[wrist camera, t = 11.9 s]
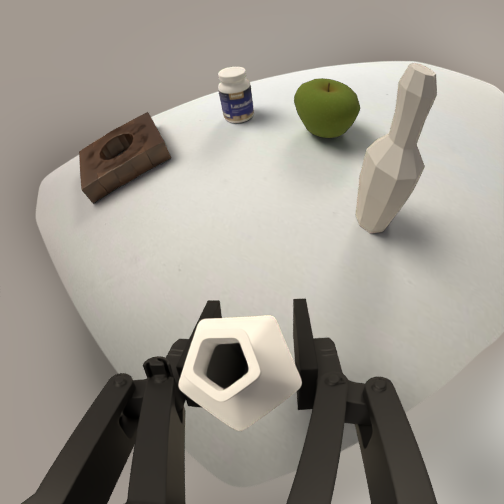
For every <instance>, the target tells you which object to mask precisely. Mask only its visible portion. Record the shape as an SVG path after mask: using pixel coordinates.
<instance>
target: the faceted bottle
mask: <svg viewBox="0 0 504 504" xmlns="http://www.w3.org/2000/svg"><path fill="white" fill-rule="evenodd" d="M436 96H437V85H436V74H435V73H434V72H433V71H432V70H431V69H429V68H427V67H425V66H423V65H421V64H416V63H412V64H410V65H409V66H408V68H407V69H406V71H405V73H404V74H403V76H402V77H401V79H400V81H399V83H398V92H397V101H396V109H395V113H394V117H393V121H392V125H391V128H390V132H389V134H387V135H385V136H383V137H381V138H379V139H377V140H376V141H375V142H374V143H373V144H372V145H371V146H370V147H369V148H368V149H366V153H365V157H364V161H363V165H362V169H361V173H360V177H359V187H358V197H357V206H356V217H357V220H358V222H359V225H360V226H361V227H362V228H364V229H365V230H367V231H368V232H369V233H371V234H372V233H378V232H383V231H384V230H385V228H386V227H387V226H388V225H389V223H390V222H391V221H392V219H393V218H394V217H395V216H396V214H397V213H398V212H399V210H400V209H401V208H402V206H403V205H404V204H405V202H406V201H407V199H408V198H409V196H410V195H411V193H412V192H413V190H414V188H415V186H416V184H417V182H418V180H419V178H420V176H421V174H422V172H423V170H424V167H425V166H424V163H423V161H422V158H421V155H420V152H419V150H418V147H417V142H418V139H419V136H420V134H421V131H422V128H423V125H424V122H425V120H426V118H427V115H428V113H429V111H430V109H431V107H432V105H433V102H434V100H435V98H436Z"/></svg>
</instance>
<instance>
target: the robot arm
mask: <svg viewBox="0 0 504 504" xmlns="http://www.w3.org/2000/svg"><path fill="white" fill-rule="evenodd" d="M213 318H222V316H221V308H220V301H207V304H206V306H205V308H204V310H203V312H202V314H201V316H200V318H199V320H198V322H197V324H196V326H195V328H194V330H193V332H192V334H191V337H190V339H179V340H177V341H176V342H175V343H174V344H173V345H172V347H171V349H170V351H169V353H168V355H167V356H166V358H165V357H159V356H157V357H152V358H150V359H148V360H147V361H145V362H144V364H143V367H144V370H145V373H146V376H147V379H144V380H133V379H132V377H131V376H130V375H128V374H125V373H120V374H117V375H114V376H113V377H111V378H110V379H109V381H108V382H107V384H106V385H105V386H104V388H103V389H102V391H101V392H100V394H99V395H98V396H97V398H96V399H95V401H94V402H93V404H92V405H91V407H90V408H89V410H88V411H87V412H86V414H85V416H84V417H83V418H82V420H81V422H80V423H79V424H78V426H77V427H76V429H75V430H74V432H73V434H72V435H71V436H70V438H69V440H68V441H67V443H66V444H65V446H64V448H63V449H62V450H61V452H60V454H59V455H58V457H57V458H56V460H55V462H54V463H53V465H52V466H51V468H50V469H49V471H48V473H47V474H46V476H45V478H44V479H43V481H42V483H41V484H40V486H39V488H38V489H37V491H36V493H35V494H33V495H32V496H31V497H29V498H28V499H27V500H25V501H24V502H23V503H21V504H107V503H108V501H109V499H110V496H111V494H112V492H113V490H114V487H115V485H116V483H117V481H118V479H119V477H120V474H121V472H122V470H123V468H124V465H125V464H126V462H127V459H128V457H129V455H130V453H131V451H132V449H133V447H134V452H133V459H132V466H131V473H130V482H129V490H128V499H127V502H126V503H125V504H185V463H184V461H185V456H184V455H185V454H184V453H185V408H184V403H185V400H186V401H187V404H188V406H192V407H201V406H200V405H199V404H197V403H196V402H195V401H193V400H192V399H191V398H189V397H188V396H187V395H186V394H184V393H183V392H182V391H181V390H180V389H179V386H178V385H179V380H180V377H181V374H182V370H183V367H184V364H185V361H186V358H187V355H188V352H189V349H190V346H191V343H192V340H193V337H194V334H195V331H196V328H197V325H198V323H199V322H200V321H201V320H203V319H213ZM293 339H294V353H295V366H296V368H297V370H298V373H299V375H300V378H301V381H302V385H301V387H300V388H299V390H297V402H298V410H306V409H313V410H312V414H311V418H310V423H309V427H308V431H307V435H306V439H305V443H304V447H303V450H302V454H301V458H300V461H299V465H298V468H297V472H296V475H295V478H294V482H293V485H292V488H291V491H290V494H289V497H288V500H287V504H331V500H332V495H333V490H334V485H335V480H336V474H337V469H338V463H339V457H340V451H341V444H342V437H343V429H344V423H351V424H355V427H356V431H357V436H358V440H359V444H360V449H361V454H362V459H363V463H364V468H365V473H366V478H367V483H368V489H369V494H370V500H371V504H437V501H436V498H435V495H434V491H433V488H432V485H431V482H430V478H429V475H428V473H427V470H426V467H425V464H424V461H423V458H422V456H421V453H420V450H419V447H418V444H417V442H416V439H415V437H414V434H413V432H412V429H411V426H410V424H409V421H408V419H407V417H406V414H405V411H404V409H403V407H402V404H401V402H400V400H399V397H398V395H397V393H396V390H395V388H394V386H393V384H392V382H391V381H390V380H388V379H387V378H384V377H373V378H370V379H369V380H368V381H367V382H366V384H363V383H356V382H352V381H350V380H348V379H347V377H346V376H345V375H344V374H343V373H342V369H341V365H340V362H339V358H338V355H337V351H336V347H335V344H334V342H333V341H332V340H331V339H330V338H314V339H313V335H312V329H311V324H310V318H309V313H308V308H307V303H306V299H293ZM202 408H203V407H202ZM134 445H135V446H134Z"/></svg>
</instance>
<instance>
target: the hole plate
mask: <svg viewBox="0 0 504 504" xmlns="http://www.w3.org/2000/svg"><path fill="white" fill-rule="evenodd" d="M124 150H126V151H125V152H123V151H124ZM121 152H123V153H122V154H121V155H119V156H117V155H118V154H119V153H121ZM116 156H117V157H116ZM79 157H80V176H81V189H82V191H83V192H84V193H85V194H86V196H87V197H88V198H89V199H90V200H91V202H92V203H95V202H96V201H98V200H99V199H101V198H102V197H104V196H106V195H107V194H108V193H110V192H112V191H114V190H115V189H117V188H118V187H120V186H122V185H124V184H126V183H128V182H130V181H131V180H133V179H135V178H137V177H138V176H139V175H141V174H143V173H144V172H146V171H148V170H150V169H152V168H154V167H156V166H157V165H159V164H161V163H163V162H165V161H167V160H169V159H171V156H170V154H169V152H168V149H167V147H166V145H165V142H164V140H163V139H162V137H161V135H160V133H159V131H158V129H157V128H156V126H155V124H154V122H153V120H152V118H151V117H150V115H149V113H148V112H147V113H145V114H143V115H141V116H139V117H137V118H135V119H133V120H132V121H130V122H128V123H126V124H124V125H122V126H121V127H118V128H116V129H115V130H113V131H111V132H109V133H108V134H106V135H105V136H103V137H102V138H100V139H98V140H97V141H95V142H93V143H92V144H90V145H89V146H87V147H86V148H84V149H82V150H81V151H80V152H79ZM115 157H116V158H115Z"/></svg>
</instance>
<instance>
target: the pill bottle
mask: <svg viewBox="0 0 504 504" xmlns="http://www.w3.org/2000/svg"><path fill="white" fill-rule="evenodd" d="M218 76H219V80H220V81H221V82H220V83H219V85H218V91H219V96H220V100H221V105H222V110H223V115H224V118H225V119H226V120H227V121H229V122H232V123H241V122H245V121H247V120H249V119H250V118H251V117H252V116H253V114H254V110H253V101H252V93H251V85H250V82H249V80H248V79H246V78H245V77H246V71H245V69H244V68H242V67H228V68H225V69H223V70H221V71H219V73H218Z"/></svg>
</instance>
